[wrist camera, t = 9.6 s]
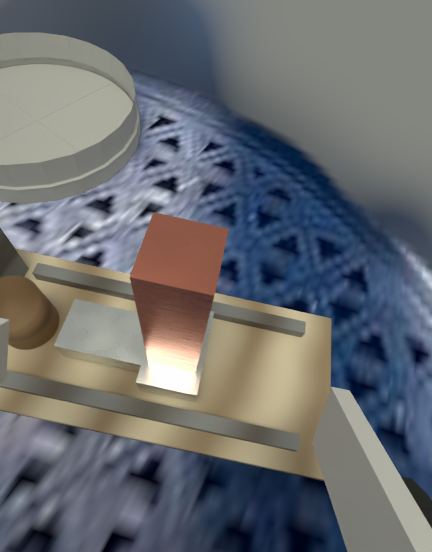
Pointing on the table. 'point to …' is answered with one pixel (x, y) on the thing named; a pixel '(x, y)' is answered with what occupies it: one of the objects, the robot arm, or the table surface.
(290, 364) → the board
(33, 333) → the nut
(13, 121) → the dish
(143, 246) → the carriage
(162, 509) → the table surface
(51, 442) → the table surface
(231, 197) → the table surface
